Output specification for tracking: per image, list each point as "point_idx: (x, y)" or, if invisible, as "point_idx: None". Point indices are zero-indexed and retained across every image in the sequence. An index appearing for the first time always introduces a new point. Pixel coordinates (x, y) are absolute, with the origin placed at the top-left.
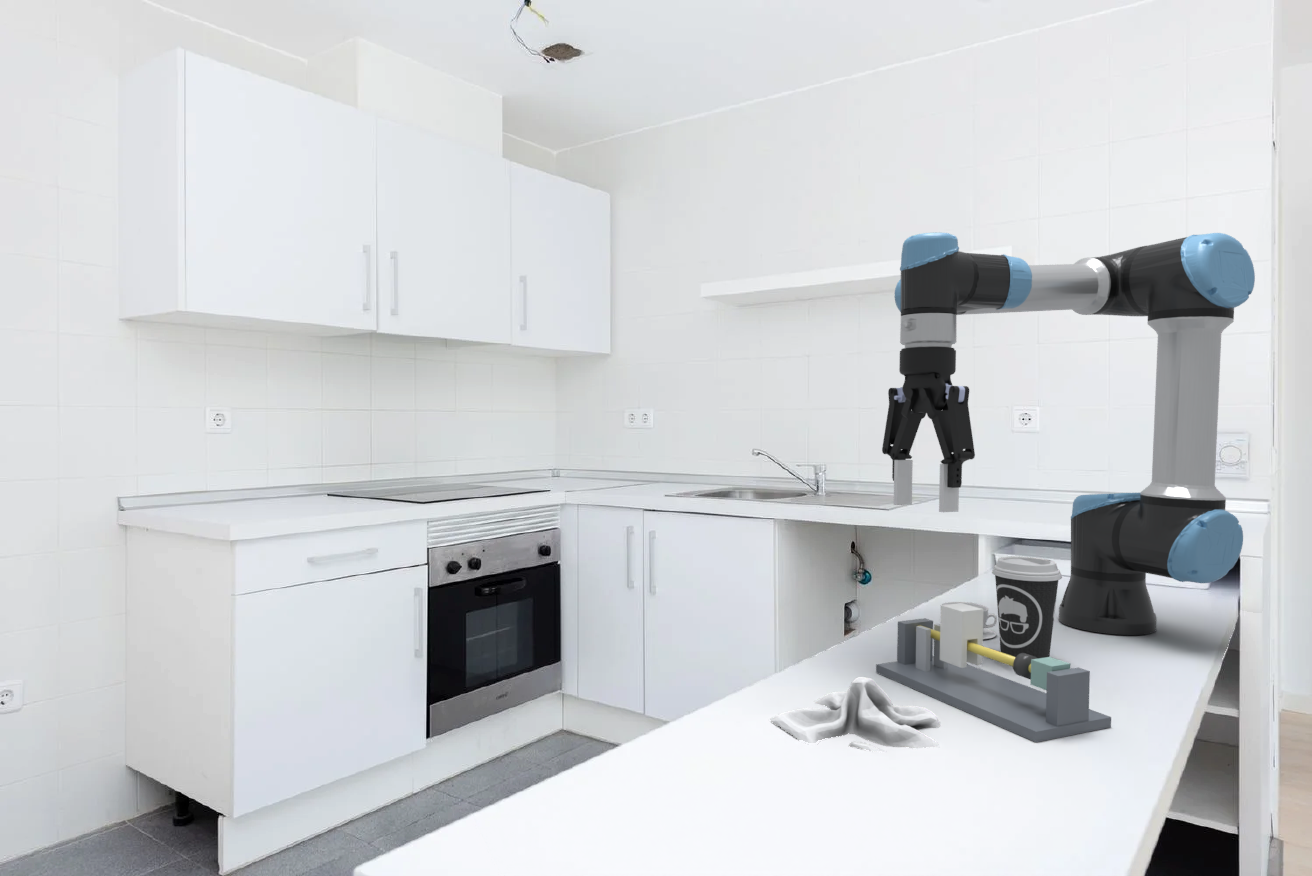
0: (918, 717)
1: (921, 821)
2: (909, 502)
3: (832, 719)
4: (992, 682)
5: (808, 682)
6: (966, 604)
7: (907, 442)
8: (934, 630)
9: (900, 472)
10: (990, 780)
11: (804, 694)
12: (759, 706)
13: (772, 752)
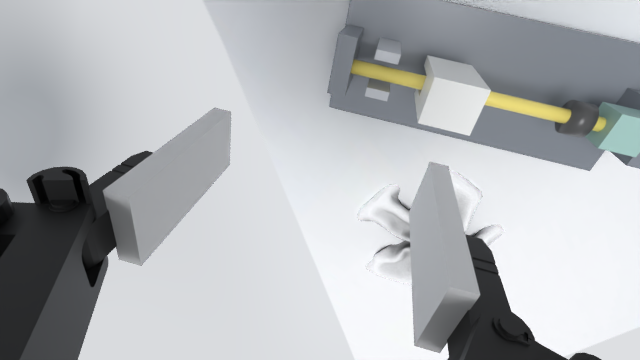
0: (470, 217)
1: (548, 323)
2: (227, 123)
3: (409, 254)
4: (480, 49)
5: (314, 183)
6: (448, 81)
7: (68, 307)
8: (387, 77)
9: (171, 216)
10: (569, 257)
11: (338, 211)
12: (338, 254)
13: (412, 304)
